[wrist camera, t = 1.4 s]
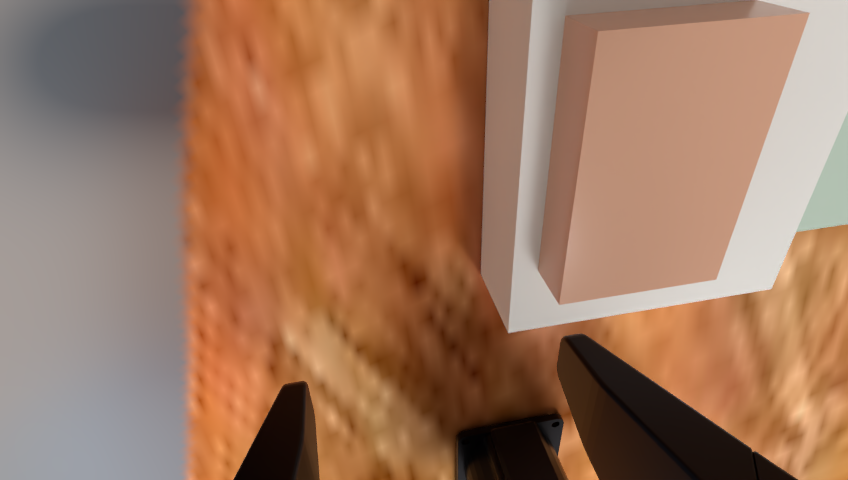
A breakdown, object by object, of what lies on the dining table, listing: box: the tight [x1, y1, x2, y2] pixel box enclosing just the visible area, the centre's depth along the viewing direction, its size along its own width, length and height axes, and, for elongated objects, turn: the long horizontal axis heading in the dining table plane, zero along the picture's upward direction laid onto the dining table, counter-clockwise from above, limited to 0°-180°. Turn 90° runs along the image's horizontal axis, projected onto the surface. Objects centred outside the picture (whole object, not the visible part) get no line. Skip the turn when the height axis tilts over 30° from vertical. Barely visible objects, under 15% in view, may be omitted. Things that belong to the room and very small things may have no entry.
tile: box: [538, 0, 810, 305], centre depth 17 cm, size 9×6×2 cm, turn 2°
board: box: [481, 0, 848, 333], centre depth 20 cm, size 15×12×4 cm
